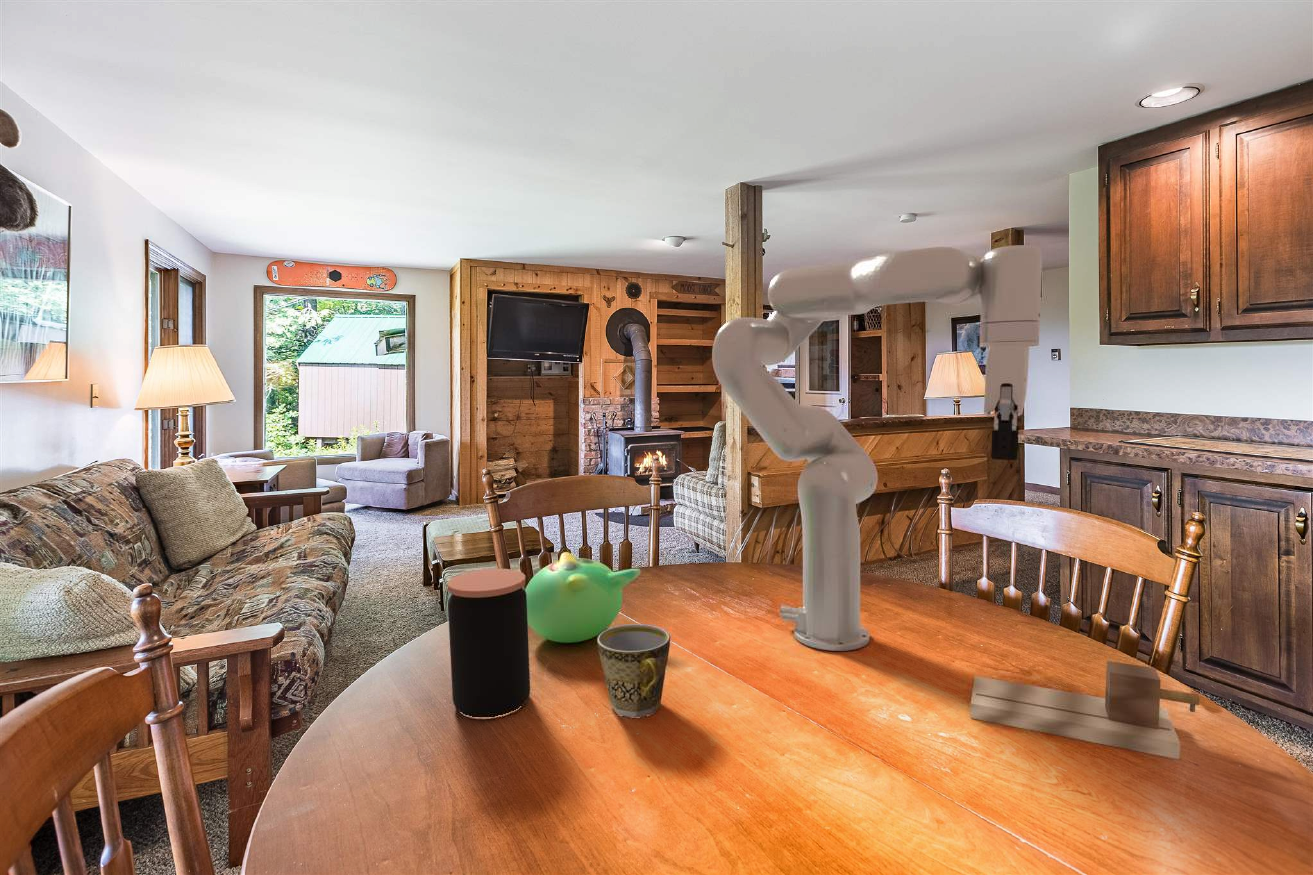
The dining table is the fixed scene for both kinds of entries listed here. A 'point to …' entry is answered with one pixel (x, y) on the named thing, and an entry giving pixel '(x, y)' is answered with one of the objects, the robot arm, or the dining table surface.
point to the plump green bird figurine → (575, 598)
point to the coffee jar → (488, 642)
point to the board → (1068, 716)
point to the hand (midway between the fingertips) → (1005, 455)
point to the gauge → (1138, 694)
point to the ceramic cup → (634, 667)
